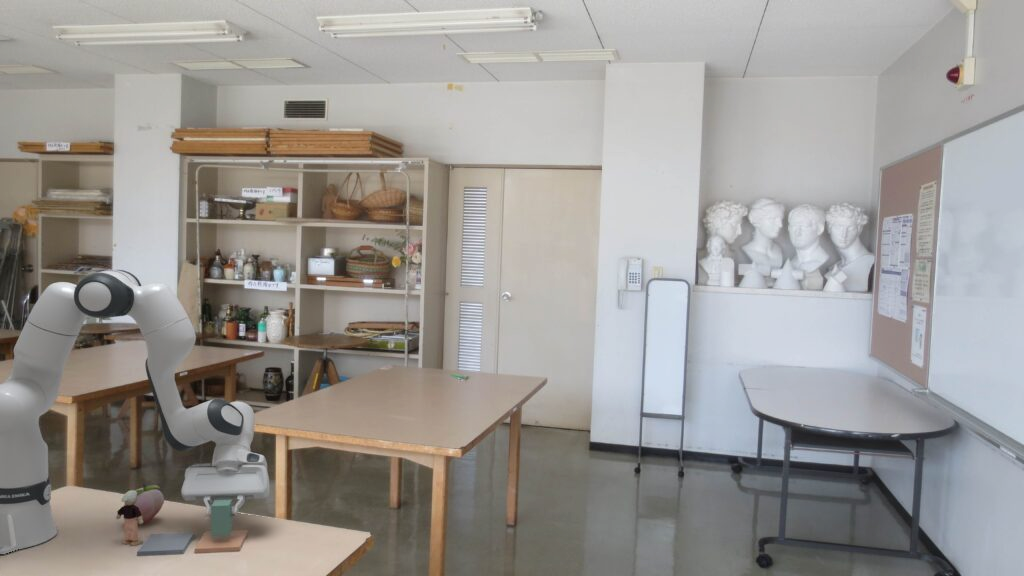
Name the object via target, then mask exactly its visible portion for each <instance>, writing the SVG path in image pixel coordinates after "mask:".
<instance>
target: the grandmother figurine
mask: <svg viewBox="0 0 1024 576" xmlns="http://www.w3.org/2000/svg"><path fill="white" fill-rule="evenodd" d="M136 501H137V492H136V491H135V490H134V489H131V490H128V491H127V492H125V493H124V495H123V496H122V499H121V502H122V503H126V504H127V505H125V506H124V505H123V506H122V507H120V508H119V509H118V510H117V513H116V516H115V519H116V520H120V519H121V518H122V516H123V520H124V521H123V537H124V539H123V541H122V544H123V545H129V544H130V546H137V545H140V544H143V543H144V541H143V539H142V538H139V529H138V528H139V527H138V526H139V525H143V524H144V523H143V520H142V519H143V518H142V514H141V512H140V510H139V508H138V507H137V506H135V505H134V504H135V503H136ZM137 519H138V521H139V522H138V521H137ZM138 524H139V525H138Z"/></svg>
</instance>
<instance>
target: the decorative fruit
mask: <svg viewBox="0 0 1024 576" xmlns="http://www.w3.org/2000/svg"><path fill="white" fill-rule="evenodd" d="M142 486H143V487H141V488H137V489H135V490H134V491H136V492H137V501H136V503H135V504H134V505H135V506H137V507H138V508H139V510H140V512H141V514H142V518H143V519H142V520H143V524H144V523H147V522H149V521H151V520H152V519H153V518H155V517H156V516H157V515H158V514H159V512H160V511H161V509H162V508H163V506H164V503H165V496H164V495H163V493H162V492H161V491H160V490H159V489H161V487H160V486H159V485H156V484H151V485H147V486H146V485H145V484H143V485H142ZM123 503H124V504H123V506H125V505H127V504H126V503H125V502H123ZM137 521H138V519H137ZM138 523H139V521H138Z"/></svg>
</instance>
